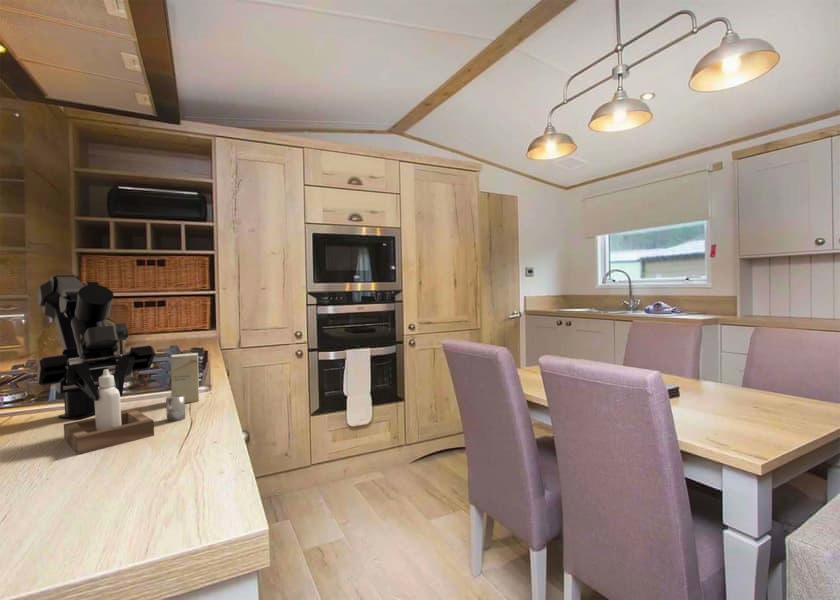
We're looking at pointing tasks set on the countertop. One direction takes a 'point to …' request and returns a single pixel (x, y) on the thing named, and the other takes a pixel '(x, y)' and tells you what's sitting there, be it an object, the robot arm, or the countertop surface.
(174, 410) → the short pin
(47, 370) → the robot arm
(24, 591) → the countertop surface
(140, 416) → the socket block
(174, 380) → the skincare box
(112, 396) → the eye dropper bottle
